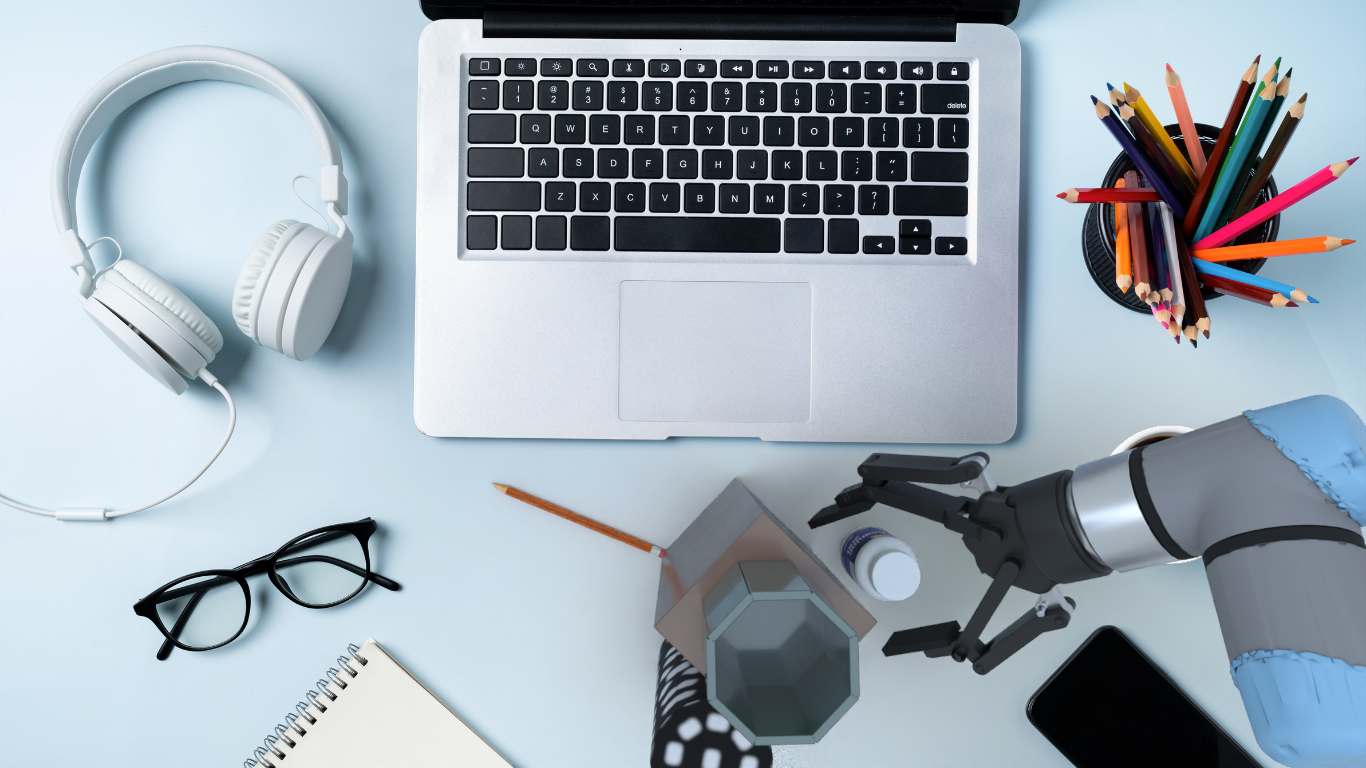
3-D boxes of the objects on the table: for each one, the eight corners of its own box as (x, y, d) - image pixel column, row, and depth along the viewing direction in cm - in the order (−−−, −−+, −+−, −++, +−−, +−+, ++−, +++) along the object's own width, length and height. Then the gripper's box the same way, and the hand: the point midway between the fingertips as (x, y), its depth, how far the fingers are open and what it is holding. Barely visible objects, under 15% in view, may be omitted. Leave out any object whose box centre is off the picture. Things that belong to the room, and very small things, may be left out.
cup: (855, 622, 48) (890, 665, 40) (768, 716, 48) (785, 777, 40) (763, 534, 48) (780, 559, 40) (675, 626, 48) (674, 670, 40)
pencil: (664, 558, 72) (664, 559, 72) (489, 486, 72) (487, 487, 72) (667, 550, 72) (667, 551, 72) (492, 479, 72) (490, 479, 72)
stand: (812, 550, 72) (878, 622, 48) (739, 628, 72) (768, 738, 48) (735, 477, 72) (763, 511, 48) (662, 554, 72) (653, 627, 48)
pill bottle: (880, 514, 72) (911, 531, 63) (905, 566, 72) (940, 591, 62) (829, 540, 72) (852, 561, 62) (854, 591, 72) (881, 620, 62)
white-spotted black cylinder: (738, 714, 72) (761, 833, 52) (650, 698, 72) (639, 811, 52) (754, 626, 72) (783, 710, 52) (666, 610, 72) (662, 688, 52)
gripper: (1193, 641, 55) (939, 675, 70) (1020, 350, 56) (804, 445, 71) (1178, 708, 50) (906, 729, 65) (986, 384, 50) (761, 480, 65)
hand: (852, 581), depth 68 cm, fingers open, 12 cm apart
